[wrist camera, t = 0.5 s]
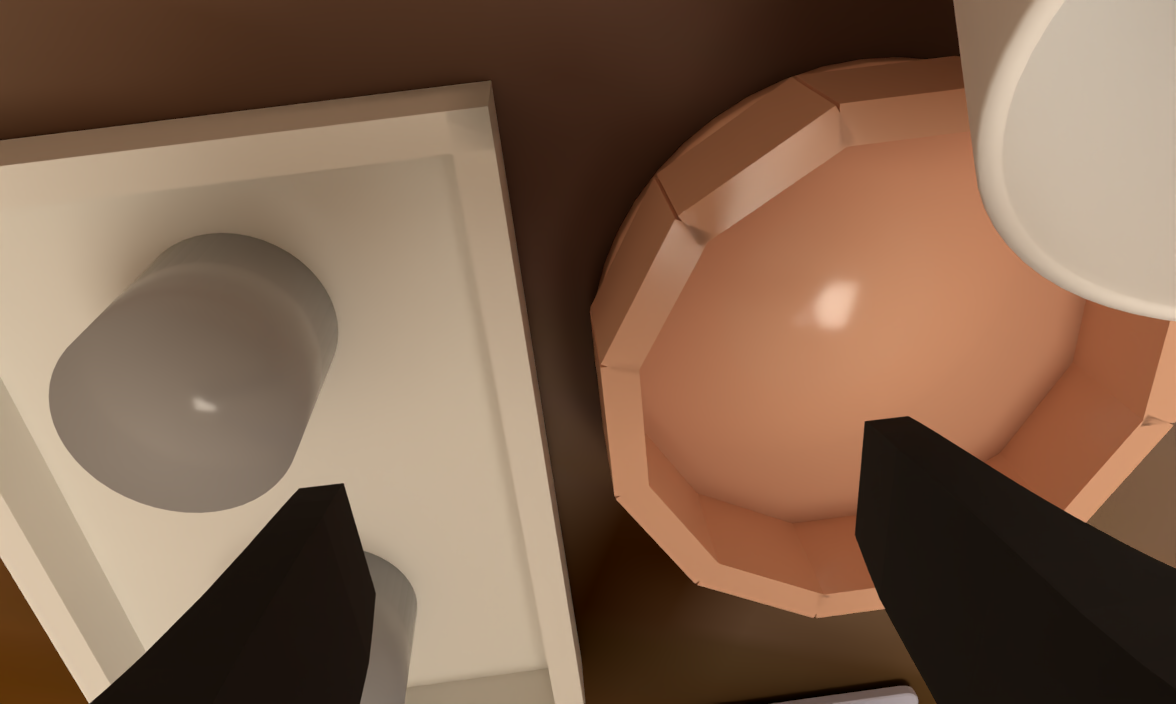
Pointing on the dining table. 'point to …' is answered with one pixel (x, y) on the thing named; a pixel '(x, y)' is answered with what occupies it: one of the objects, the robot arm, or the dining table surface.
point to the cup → (1078, 141)
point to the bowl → (845, 334)
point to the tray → (348, 396)
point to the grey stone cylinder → (389, 634)
